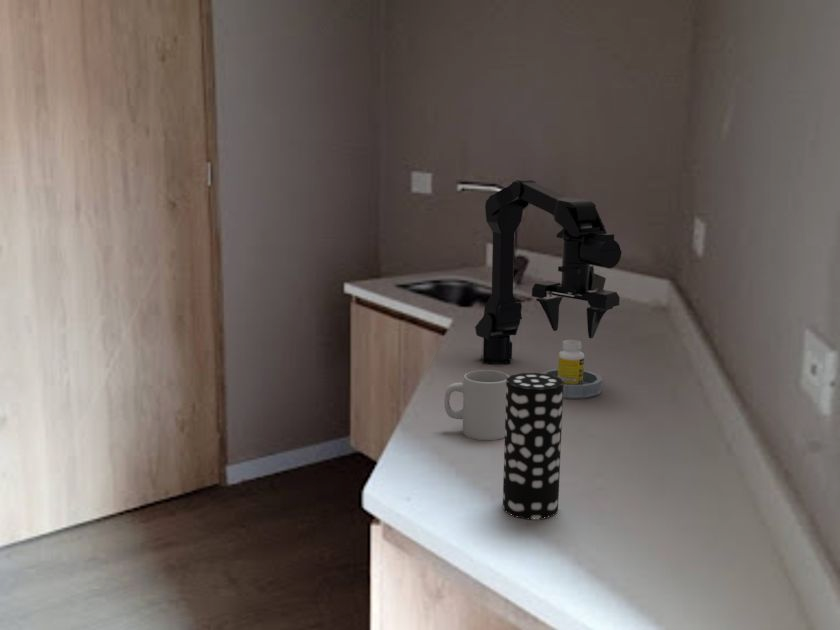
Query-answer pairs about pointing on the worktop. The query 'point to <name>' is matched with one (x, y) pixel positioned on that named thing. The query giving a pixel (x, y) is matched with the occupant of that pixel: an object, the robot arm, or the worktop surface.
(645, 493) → the worktop surface
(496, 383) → the mug
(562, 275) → the robot arm
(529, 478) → the white-spotted black cylinder
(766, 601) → the worktop surface
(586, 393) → the round dish
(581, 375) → the supplement bottle
